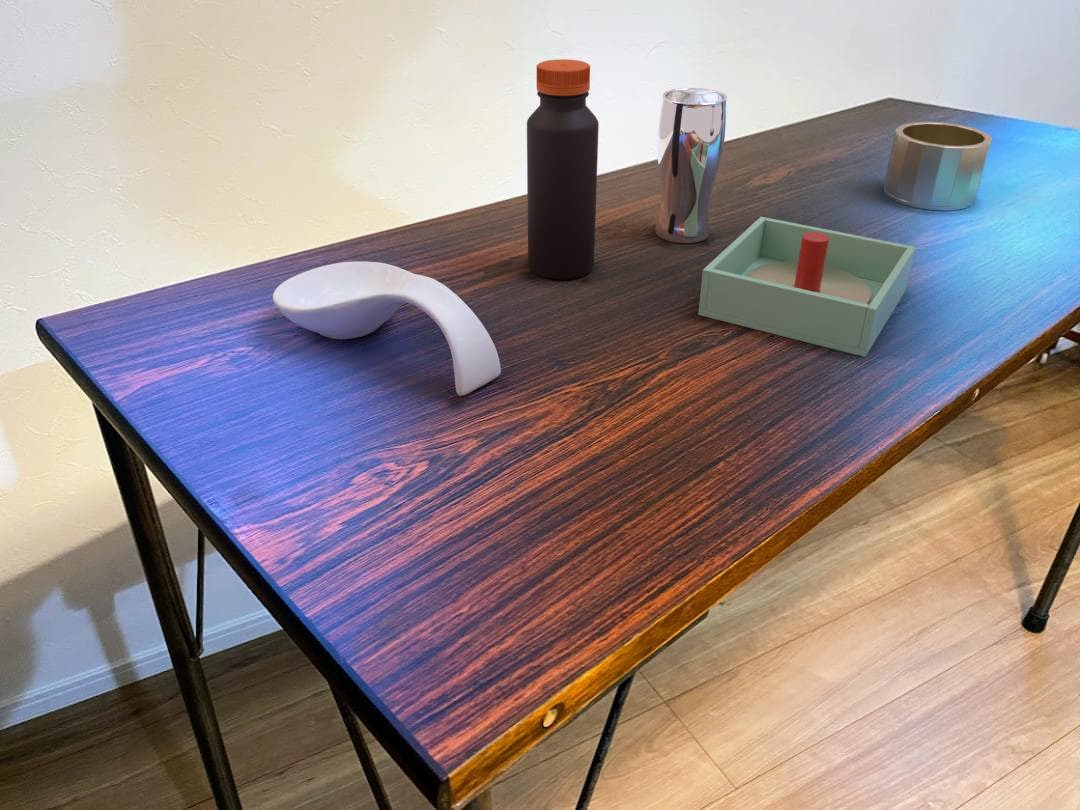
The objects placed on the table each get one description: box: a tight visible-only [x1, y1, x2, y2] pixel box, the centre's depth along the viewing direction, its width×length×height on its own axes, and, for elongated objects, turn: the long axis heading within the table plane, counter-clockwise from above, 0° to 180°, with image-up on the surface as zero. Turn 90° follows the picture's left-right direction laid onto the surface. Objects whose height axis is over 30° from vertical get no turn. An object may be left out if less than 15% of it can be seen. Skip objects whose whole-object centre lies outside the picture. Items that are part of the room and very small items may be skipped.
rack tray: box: [697, 216, 917, 358], centre depth 85 cm, size 15×15×5 cm
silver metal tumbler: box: [654, 87, 728, 244], centre depth 97 cm, size 7×7×15 cm
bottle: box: [526, 58, 600, 281], centre depth 88 cm, size 7×7×20 cm
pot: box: [883, 121, 993, 212], centre depth 109 cm, size 11×11×8 cm
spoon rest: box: [272, 261, 502, 397], centre depth 78 cm, size 24×12×7 cm, turn 49°
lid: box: [747, 232, 871, 304], centre depth 84 cm, size 12×12×6 cm
